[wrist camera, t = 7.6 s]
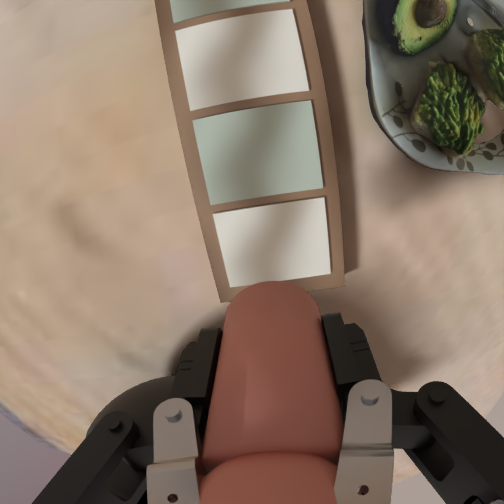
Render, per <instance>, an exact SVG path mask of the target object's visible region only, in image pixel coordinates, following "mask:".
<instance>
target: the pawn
mask: <svg viewBox="0 0 504 504" xmlns="http://www.w3.org/2000/svg"><path fill="white" fill-rule="evenodd" d="M344 428H345V427H344V422H343V417H342V412H341V407H340V402H339V398H338V395H337V390H336V385H335V381H334V376H333V371H332V366H331V362H330V357H329V353H328V348H327V344H326V339H325V335H324V331H323V326H322V322H321V316H320V311H319V308H318V305H317V303H316V301H315V300H314V298H313V297H312V296H311V295H310V294H309V293H308V292H307V291H305V290H304V289H303V288H301V287H299V286H297V285H294V284H292V283H288V282H283V281H265V282H259V283H256V284H253V285H251V286H249V287H247V288H245V289H243V290H242V291H240V292H239V293H238V294H237V295H236V296H235V297H234V298H233V299H232V301H231V302H230V304H229V306H228V309H227V312H226V317H225V323H224V328H223V334H222V339H221V345H220V351H219V356H218V362H217V368H216V373H215V379H214V385H213V391H212V396H211V402H210V408H209V414H208V420H207V426H206V432H205V438H204V444H203V450H202V461H201V462H202V463H203V465H204V466H205V468H206V471H207V473H208V474H207V475H206V476H205V477H204V478H203V479H202V481H201V485H200V502H199V504H337V501H336V496H335V492H334V485H335V480H336V475H337V469H338V463H339V458H340V452H341V448H342V442H343V435H344ZM358 494H359V495H362V494H361V493H358Z"/></svg>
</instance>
